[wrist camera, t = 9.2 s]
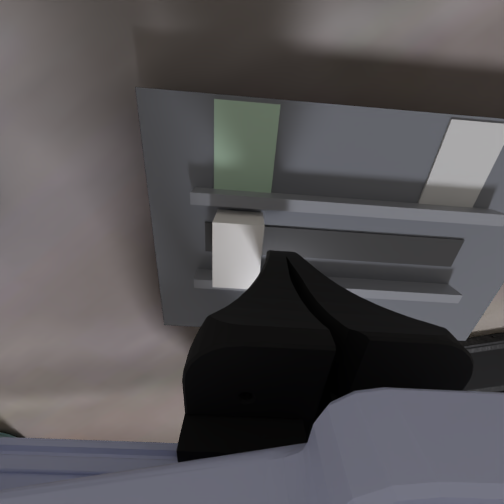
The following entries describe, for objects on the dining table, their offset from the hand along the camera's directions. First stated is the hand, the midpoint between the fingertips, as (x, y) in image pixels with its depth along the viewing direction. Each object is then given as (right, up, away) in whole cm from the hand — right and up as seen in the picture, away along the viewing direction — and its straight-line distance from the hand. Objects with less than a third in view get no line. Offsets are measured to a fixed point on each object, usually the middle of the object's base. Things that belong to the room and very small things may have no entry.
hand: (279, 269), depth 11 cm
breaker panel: (+4, +2, +5) cm, 7 cm away
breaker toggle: (-2, +1, +2) cm, 3 cm away
